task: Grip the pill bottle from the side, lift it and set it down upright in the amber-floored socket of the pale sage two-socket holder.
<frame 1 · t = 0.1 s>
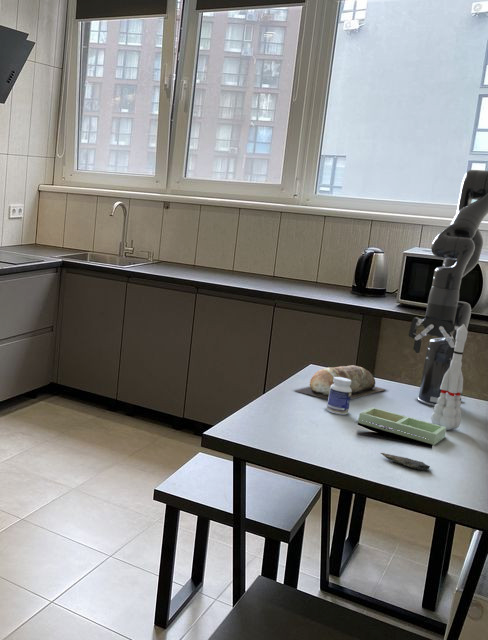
hand: (432, 355, 222), 17 cm above the table, tool pointing down, fingers open, 8 cm apart
holder: (400, 430, 203), on the table
pill bottle: (336, 412, 215), on the table
rocket model: (444, 428, 209), on the table
bread loaf: (341, 391, 239), on the table
arrowhead: (403, 465, 177), on the table
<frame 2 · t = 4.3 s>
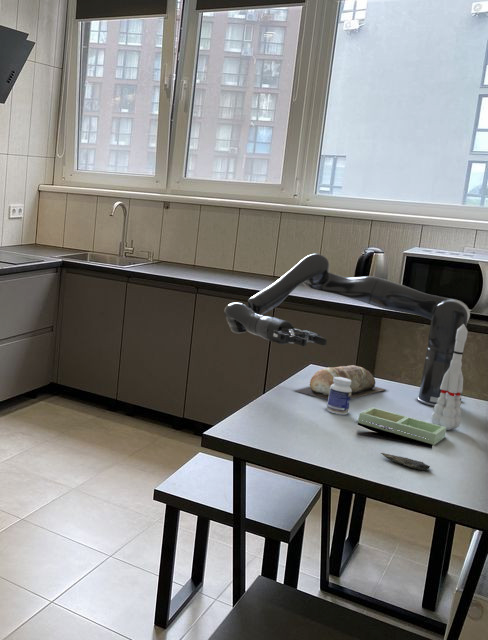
hand: (315, 342, 222), 18 cm above the table, tool horizontal, fingers open, 8 cm apart
nothing on the table moved.
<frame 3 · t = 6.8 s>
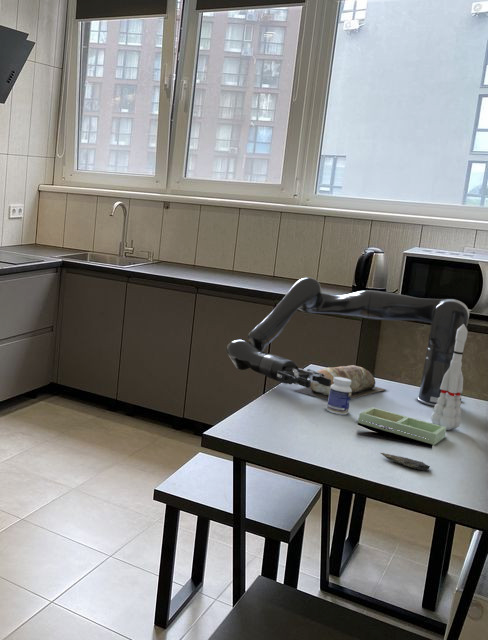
hand: (319, 383, 221), 6 cm above the table, tool horizontal, fingers open, 8 cm apart
nothing on the table moved.
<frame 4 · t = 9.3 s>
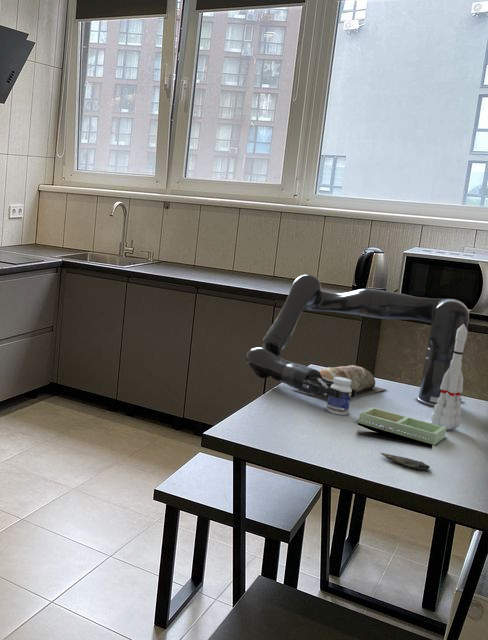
hand: (347, 394, 212), 6 cm above the table, tool horizontal, fingers closed on pill bottle, 5 cm apart
pill bottle: (336, 412, 215), on the table, touching gripper
everything else where it was.
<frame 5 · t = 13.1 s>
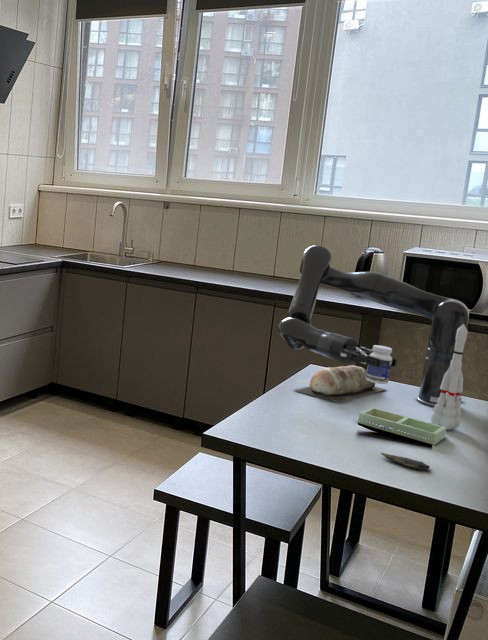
hand: (388, 363, 204), 18 cm above the table, tool horizontal, fingers closed on pill bottle, 5 cm apart
pill bottle: (376, 382, 207), point 11 cm above the table, touching gripper
everything else where it was.
when the fingers open (7 cm above the table, at t = 17.0 s): pill bottle stays where it is, resting on holder.
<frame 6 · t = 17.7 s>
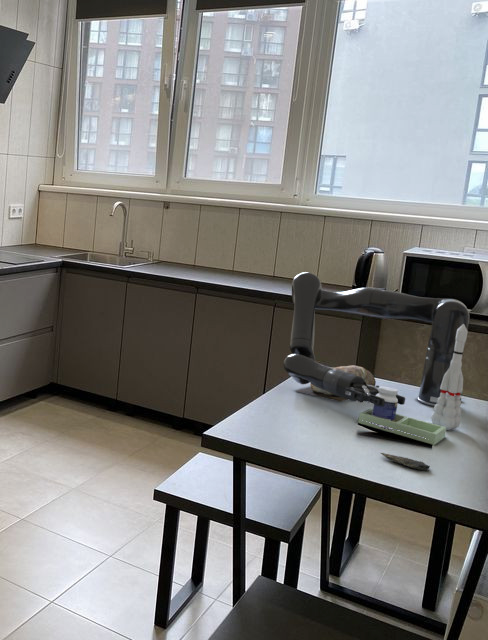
hand: (393, 402, 204), 7 cm above the table, tool horizontal, fingers open, 8 cm apart
pill bottle: (382, 423, 207), resting on holder
everything else where it was.
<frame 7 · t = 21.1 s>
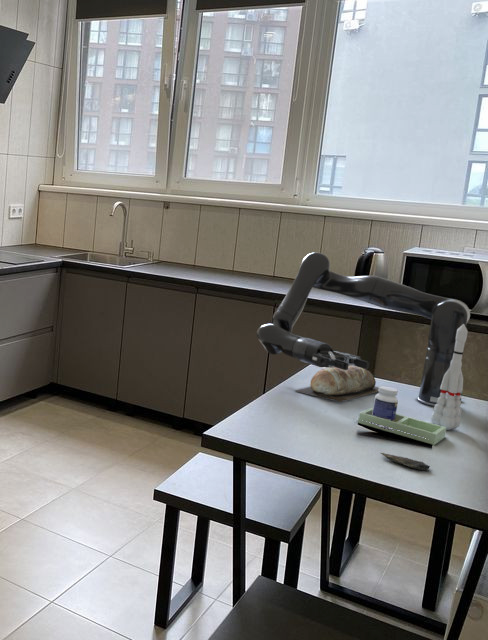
hand: (357, 366, 214), 14 cm above the table, tool horizontal, fingers open, 8 cm apart
nothing on the table moved.
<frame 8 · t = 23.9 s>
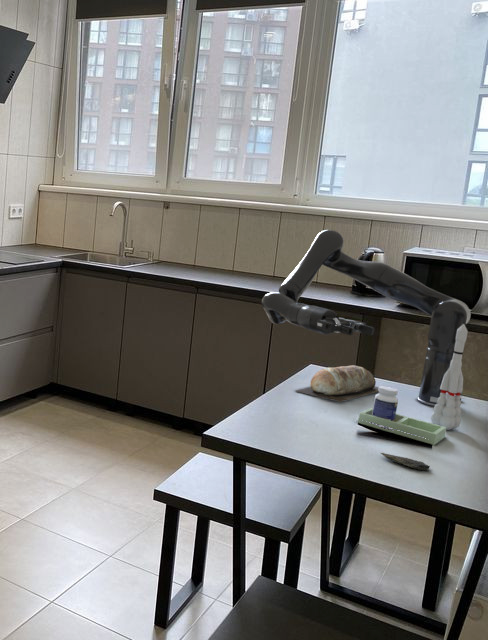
hand: (362, 331, 213), 24 cm above the table, tool horizontal, fingers open, 8 cm apart
nothing on the table moved.
at the end: pill bottle 0.4 cm from the target spot in the holder, point 0.4 cm above the holder's base; pill bottle tilted 0°; the gripper is holding nothing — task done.
